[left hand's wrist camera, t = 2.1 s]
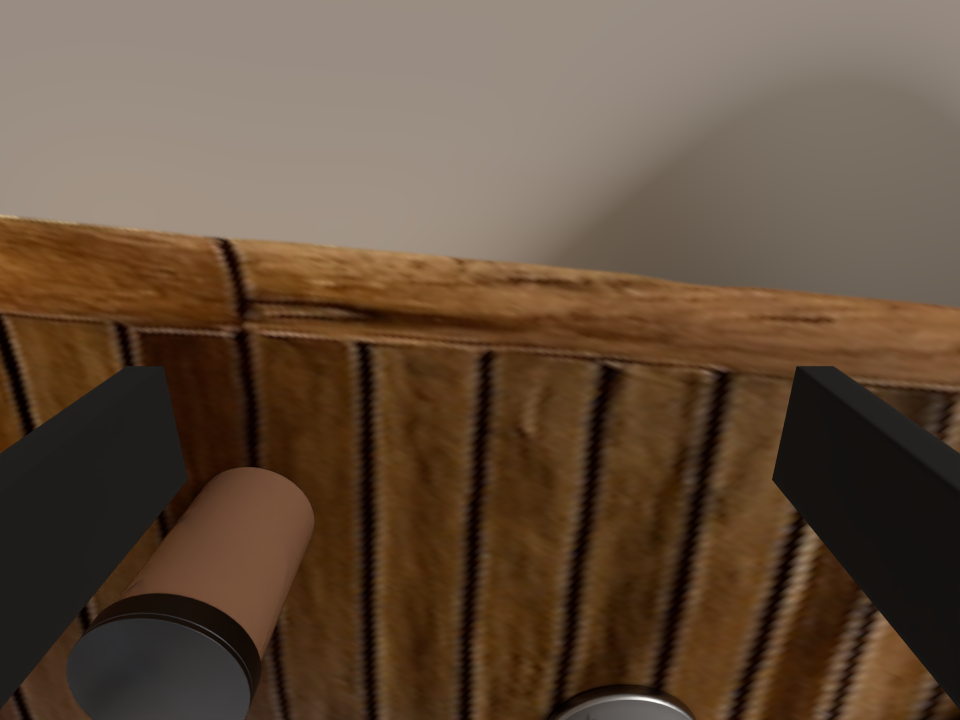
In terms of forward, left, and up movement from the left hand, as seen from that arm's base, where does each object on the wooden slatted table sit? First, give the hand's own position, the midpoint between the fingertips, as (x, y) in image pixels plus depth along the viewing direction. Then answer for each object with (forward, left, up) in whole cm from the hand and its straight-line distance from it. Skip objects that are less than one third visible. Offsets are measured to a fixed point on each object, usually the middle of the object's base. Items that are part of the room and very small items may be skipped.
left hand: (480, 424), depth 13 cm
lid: (-23, +18, -13) cm, 32 cm away
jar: (-23, +18, -28) cm, 41 cm away
